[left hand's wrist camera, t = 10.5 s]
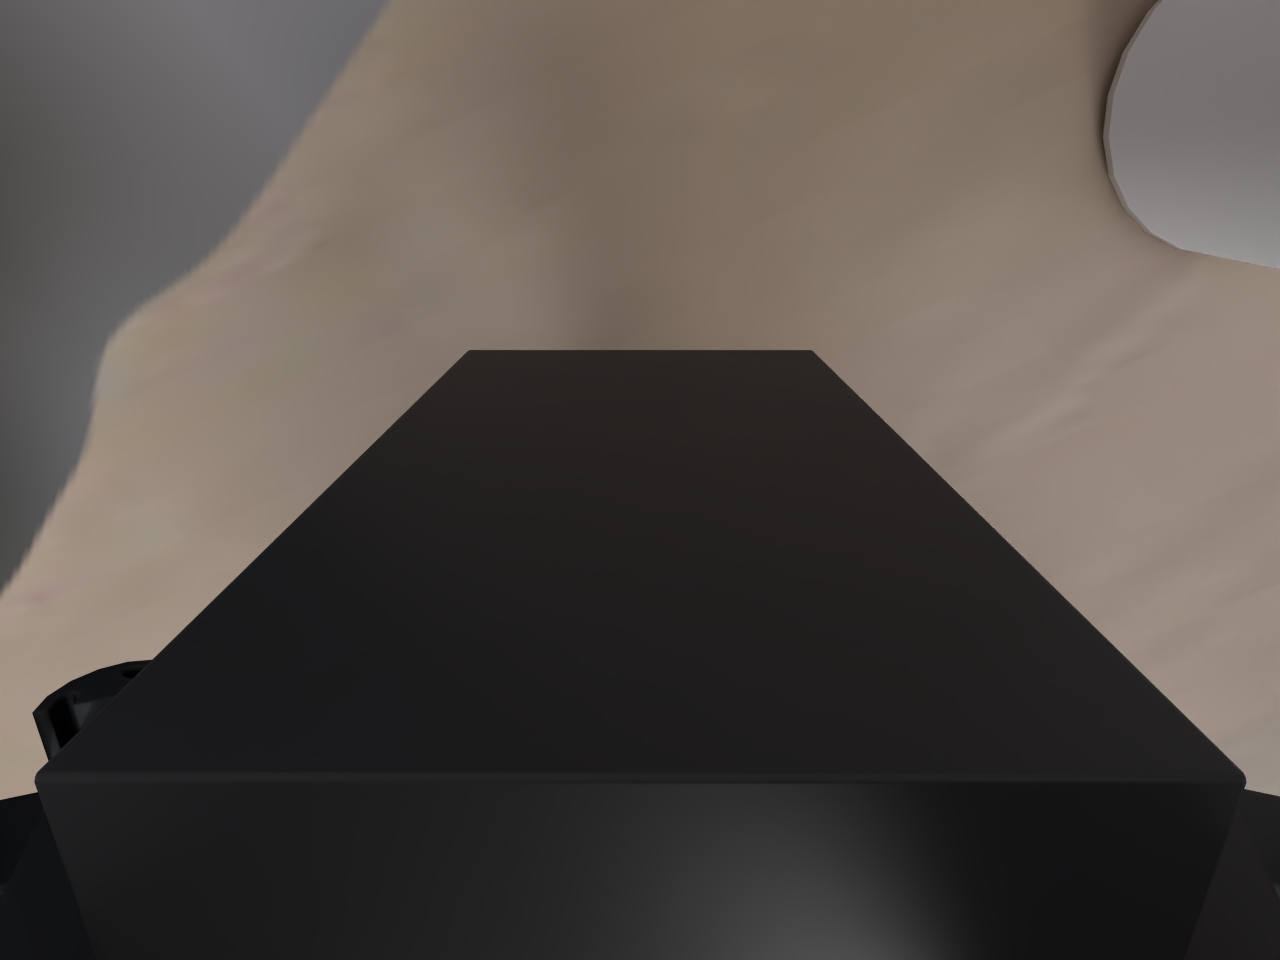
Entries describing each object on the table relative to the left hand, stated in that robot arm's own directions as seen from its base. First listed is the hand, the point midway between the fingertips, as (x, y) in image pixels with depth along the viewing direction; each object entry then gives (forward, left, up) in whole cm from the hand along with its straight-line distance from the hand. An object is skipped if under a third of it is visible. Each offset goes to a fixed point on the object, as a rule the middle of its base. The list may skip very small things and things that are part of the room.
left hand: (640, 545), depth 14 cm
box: (+5, +9, -2) cm, 10 cm away
